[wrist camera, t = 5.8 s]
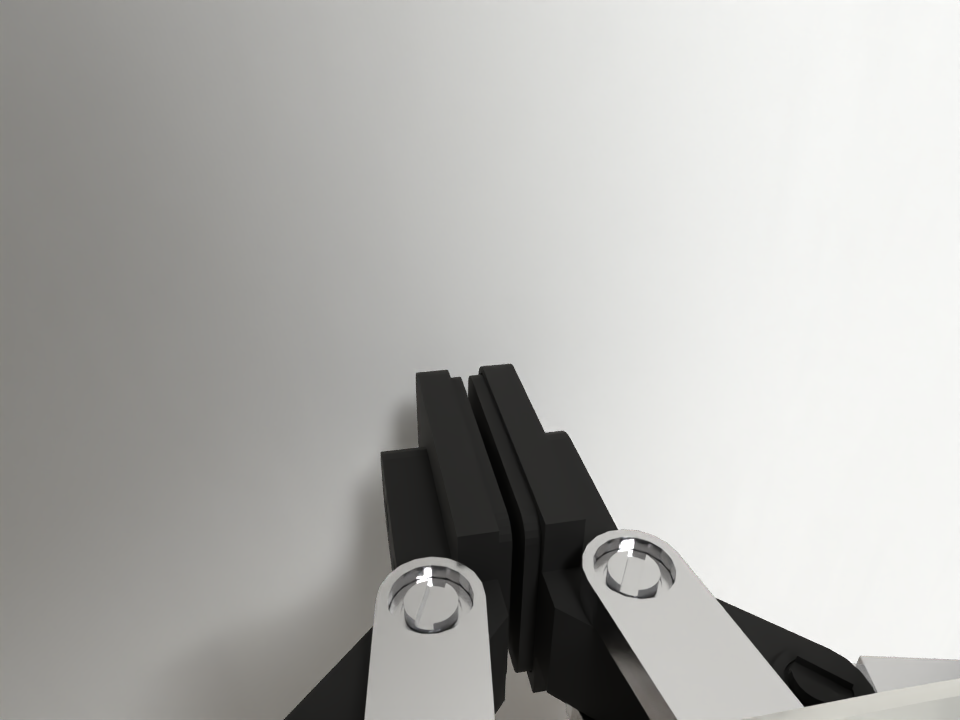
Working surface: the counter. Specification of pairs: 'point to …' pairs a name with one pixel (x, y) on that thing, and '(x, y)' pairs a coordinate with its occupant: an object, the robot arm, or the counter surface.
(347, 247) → the counter surface
